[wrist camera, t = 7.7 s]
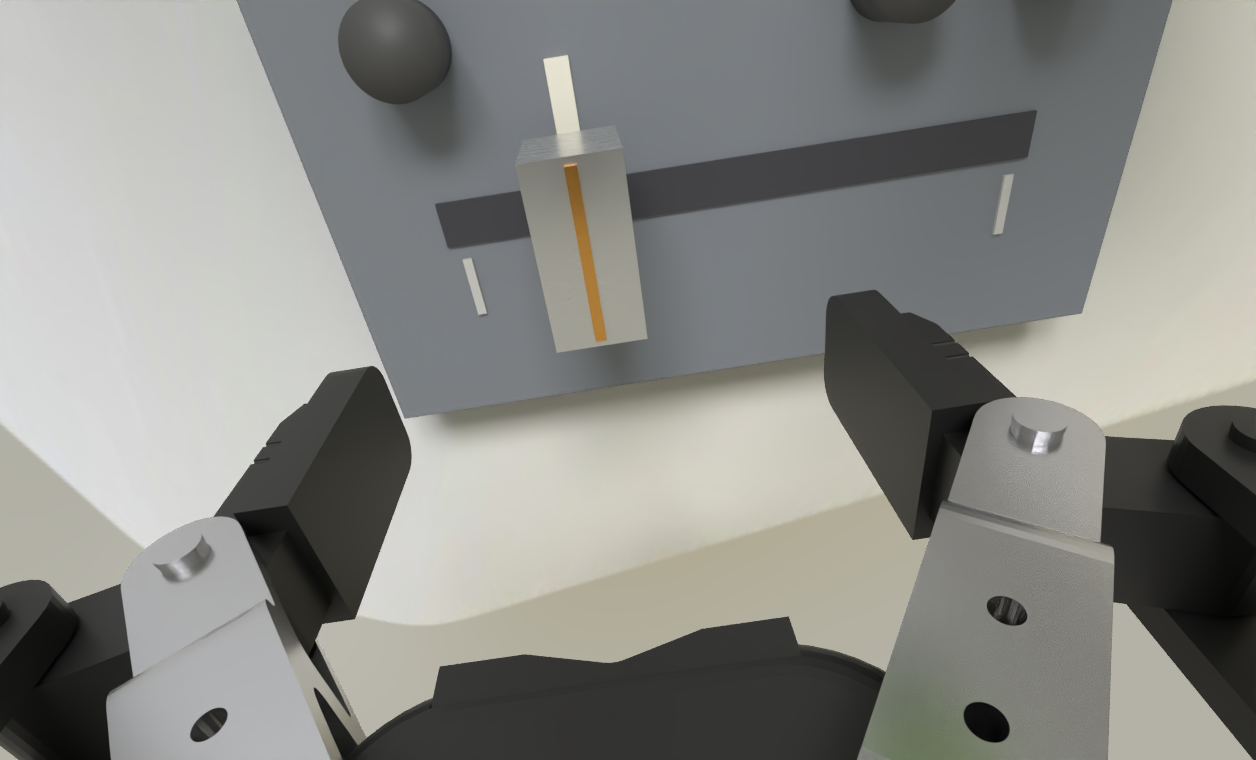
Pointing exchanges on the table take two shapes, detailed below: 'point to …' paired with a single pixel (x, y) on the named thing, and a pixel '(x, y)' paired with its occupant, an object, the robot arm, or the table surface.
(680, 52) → the console
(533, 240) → the fader
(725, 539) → the table surface
